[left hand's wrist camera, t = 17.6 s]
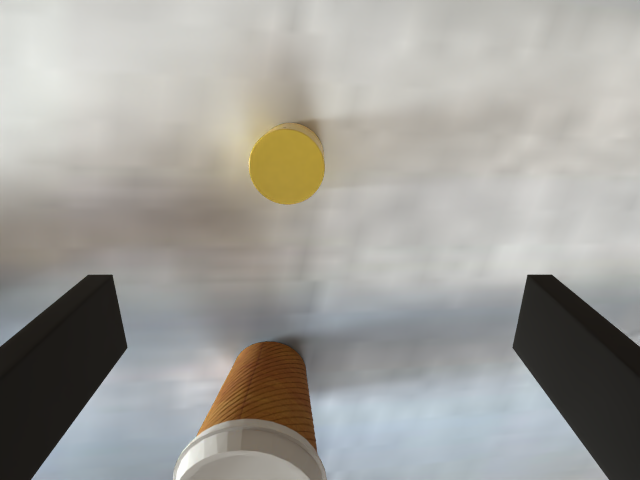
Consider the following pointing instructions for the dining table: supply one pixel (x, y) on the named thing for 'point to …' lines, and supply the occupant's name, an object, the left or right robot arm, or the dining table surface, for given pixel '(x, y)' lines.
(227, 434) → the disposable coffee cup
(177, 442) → the dining table surface
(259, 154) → the canister
